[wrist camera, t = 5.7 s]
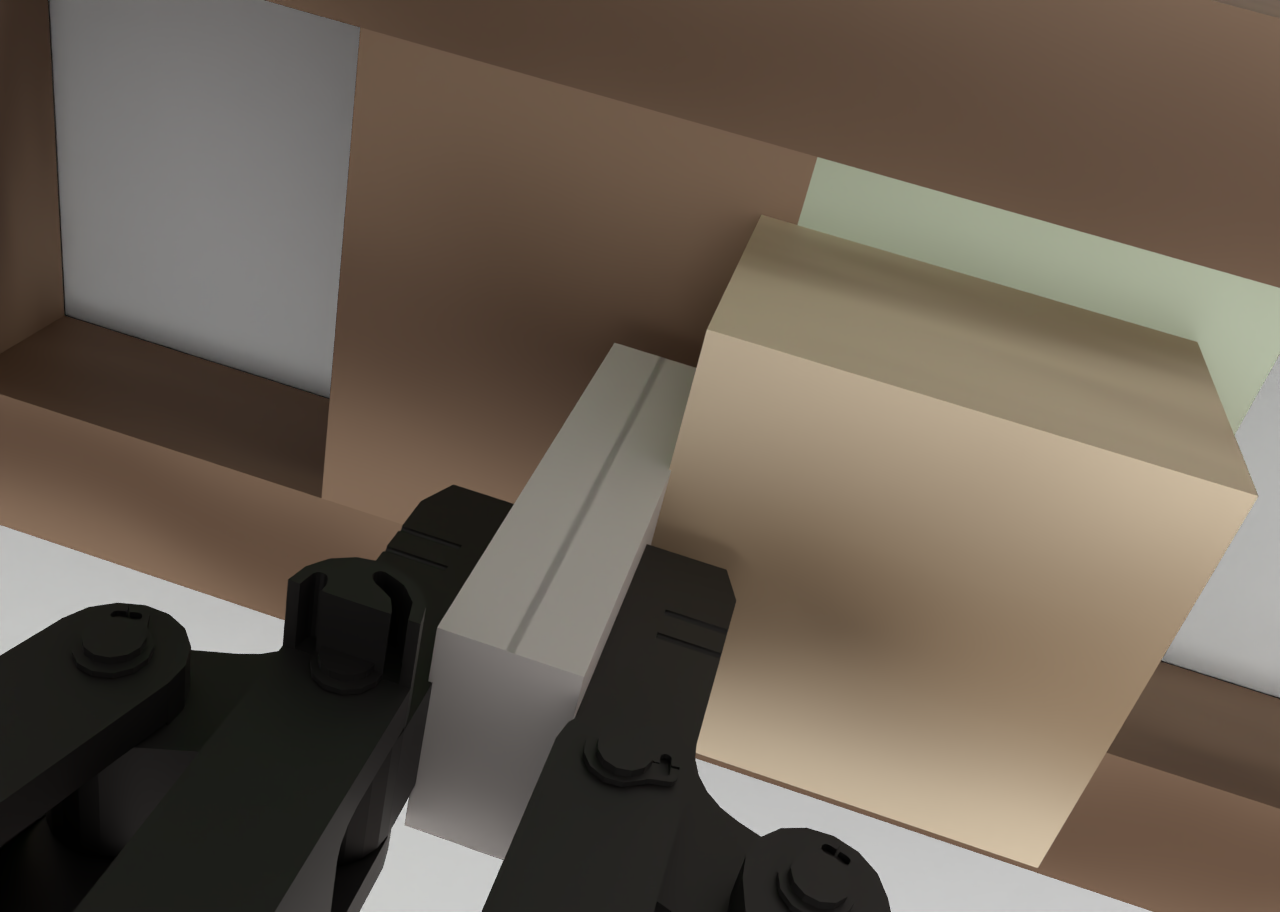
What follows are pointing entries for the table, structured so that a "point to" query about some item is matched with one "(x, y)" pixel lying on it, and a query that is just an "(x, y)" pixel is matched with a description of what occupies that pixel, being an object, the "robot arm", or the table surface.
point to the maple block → (941, 531)
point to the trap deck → (681, 292)
